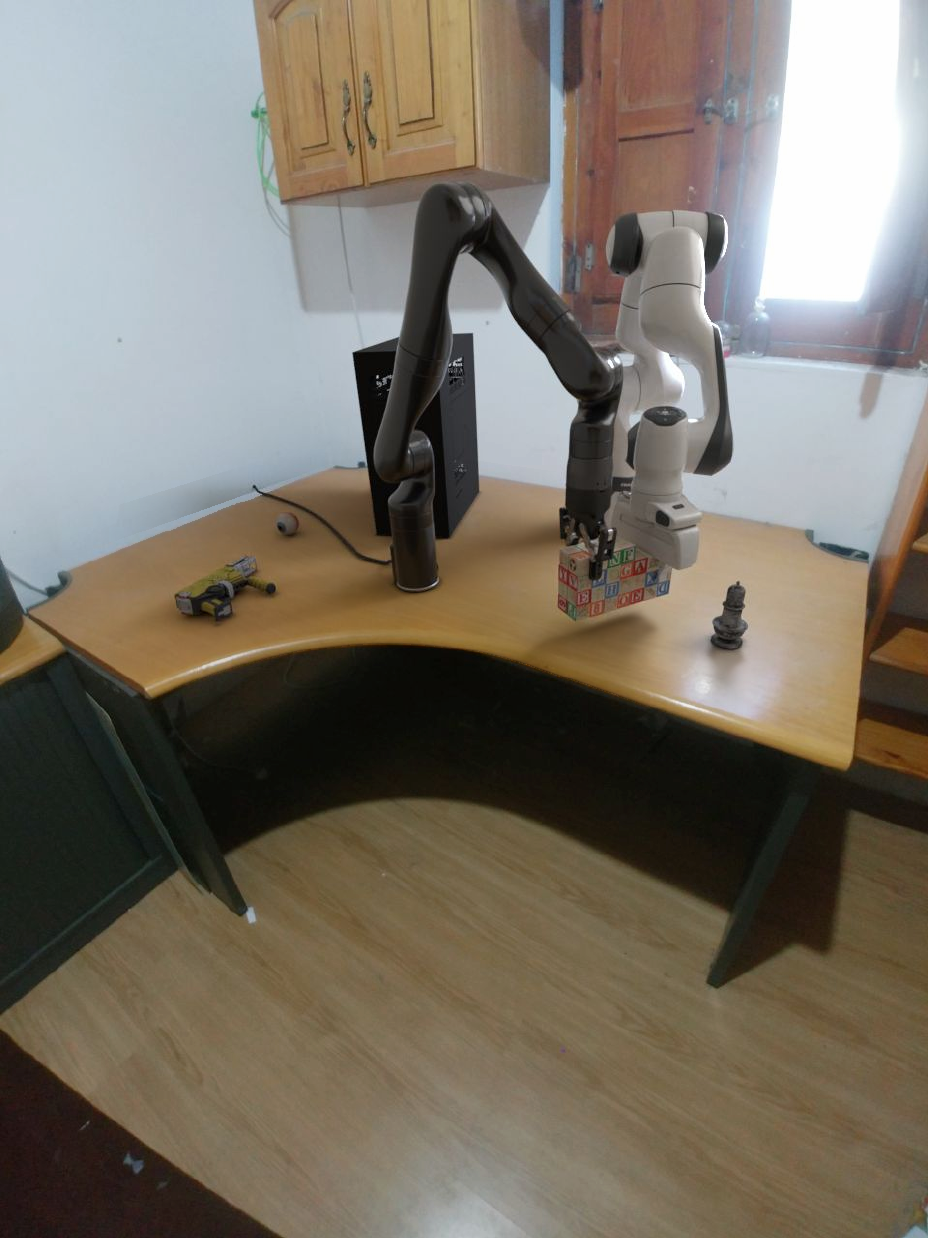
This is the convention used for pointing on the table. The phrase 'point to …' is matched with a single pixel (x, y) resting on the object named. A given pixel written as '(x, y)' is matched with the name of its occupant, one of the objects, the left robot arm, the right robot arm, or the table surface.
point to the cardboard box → (426, 431)
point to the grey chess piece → (731, 619)
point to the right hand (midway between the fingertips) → (647, 572)
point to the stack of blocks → (607, 580)
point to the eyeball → (287, 523)
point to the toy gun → (220, 589)
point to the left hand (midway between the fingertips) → (583, 571)
